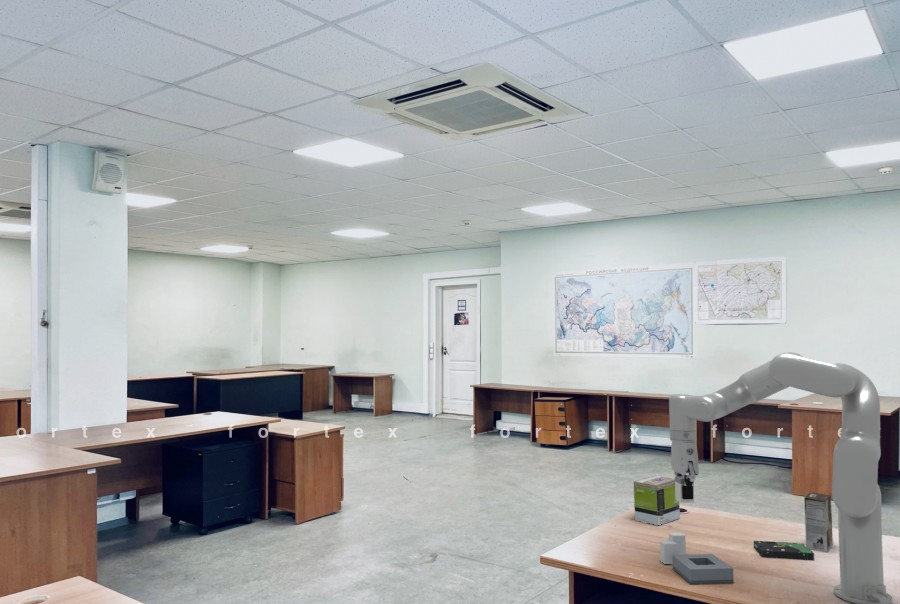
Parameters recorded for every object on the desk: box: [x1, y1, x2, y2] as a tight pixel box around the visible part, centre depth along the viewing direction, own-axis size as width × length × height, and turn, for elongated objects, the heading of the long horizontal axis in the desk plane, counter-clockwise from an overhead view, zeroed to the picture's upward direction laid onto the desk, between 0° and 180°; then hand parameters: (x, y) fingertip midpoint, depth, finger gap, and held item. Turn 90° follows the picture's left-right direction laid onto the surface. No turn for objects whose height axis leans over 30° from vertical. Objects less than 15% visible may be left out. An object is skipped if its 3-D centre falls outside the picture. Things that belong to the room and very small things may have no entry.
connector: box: [674, 476, 695, 504], centre depth 196 cm, size 4×4×7 cm
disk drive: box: [753, 540, 815, 561], centre depth 202 cm, size 10×3×15 cm
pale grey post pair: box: [659, 532, 687, 565], centre depth 198 cm, size 11×10×6 cm
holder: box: [672, 553, 734, 585], centre depth 183 cm, size 12×12×4 cm
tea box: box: [633, 475, 681, 526], centre depth 241 cm, size 15×10×15 cm
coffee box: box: [804, 491, 834, 553], centre depth 209 cm, size 9×6×16 cm
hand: (684, 496), depth 196 cm, fingers closed on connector, 4 cm apart
